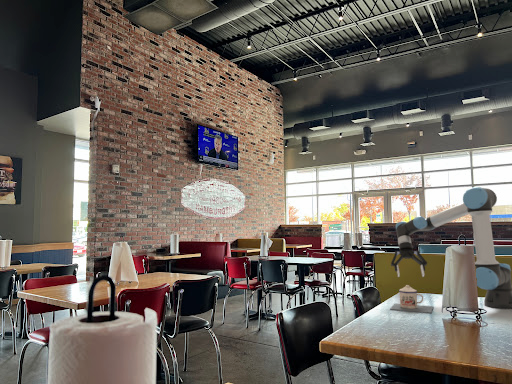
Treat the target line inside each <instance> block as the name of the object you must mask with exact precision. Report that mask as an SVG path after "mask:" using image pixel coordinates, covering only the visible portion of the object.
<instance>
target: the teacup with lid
mask: <svg viewBox="0 0 512 384" xmlns="http://www.w3.org/2000/svg"><path fill="white" fill-rule="evenodd" d="M398 291H399V304H400V307H402V308H406V309H415V308H417V305H419V304H422V303H423V301H424V296H423V295H422V294H421V293H418V291H417V289H414V288H413V287H411V285H409V284H406V285H405V286H403V287H402V288H400V289H398ZM418 296H419V297H421V300H420V301H418Z"/></svg>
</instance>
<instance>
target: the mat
mask: <svg viewBox="0 0 512 384" xmlns="http://www.w3.org/2000/svg"><path fill="white" fill-rule="evenodd" d="M389 311H401V312H409V313H411V312H412V313H422V314H423V313H424V314H432V312H433V311H434V306H432V305H421V304H417V308H415V309H406V308H402V307H400V303H395V302H394V304H393V305H392V306H391V307H390V308H389Z"/></svg>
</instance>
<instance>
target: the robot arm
mask: <svg viewBox="0 0 512 384" xmlns="http://www.w3.org/2000/svg"><path fill="white" fill-rule="evenodd" d="M497 200H498V198H497V194H496V193H495V192H494V190H492V189H489V188H485V187H480V186H478V187H470V188H468V189H467V190H466V191H464V194H463V195H462V202H461V203H457V204H456V205H453V206H451V207H449V208H447V209H444V210H441V211H440V212H438V213H435V214H433V215H430V216H429V217H426V218H425V217H424V216H421V215H419V216H417V217H415V218H412V219H411V220H409V221H405V220H404V221H398V222H397V223H396V224H395V233H396V236H397V243H398V248H399V251H397V250H395V251H394V255H393V258H392V260H391V263H390V266H391V267H394V271H395V272H396V274H397V278H400V277H401V276H400V275H401V274H400V268H399V264H400V263H401V261H402V260H403V259H405V260H407V259H408V260H409V259H412V260H413V261H414V262H416V263H417V264H418V265H420V272H421V276H422V278H424V277H425V271H426V266H427V264H428V262H427V260H426V259H425V258H424V257H423V256H422V254H421V253H420V250H418V249H417V250H416V251H415V250H413V243H412V239H411V235H412V234H414V233H417V232H419V231H420V232H421V231H422V232H424V231H426V232H429V231H433V230H434V229H436V228H438V227H440V226H443V225H445V224H448V223H450V222H452V221H455V220H458V219H460V218H463V217H465V216H467V215H469V216H470V217H471V223H472V230H473V231H472V232H473V239H474V247H475V255H476V261H474V263H475V266H476V278H477V285H476V286H477V287H478V288H480V289H481V290H484V291H485V290H486V293H485V296H484V306H487V307H491V308H495V309H508V310H509V309H512V269H511V266H510V264H507V263H500V262H499V261H498V260H496V253H495V246H494V237H493V229H492V222H491V214H492V212H493V207H495V205H496V204H497ZM398 255H400V256H399V258H398V259H397V256H398ZM396 259H397V260H396Z"/></svg>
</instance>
